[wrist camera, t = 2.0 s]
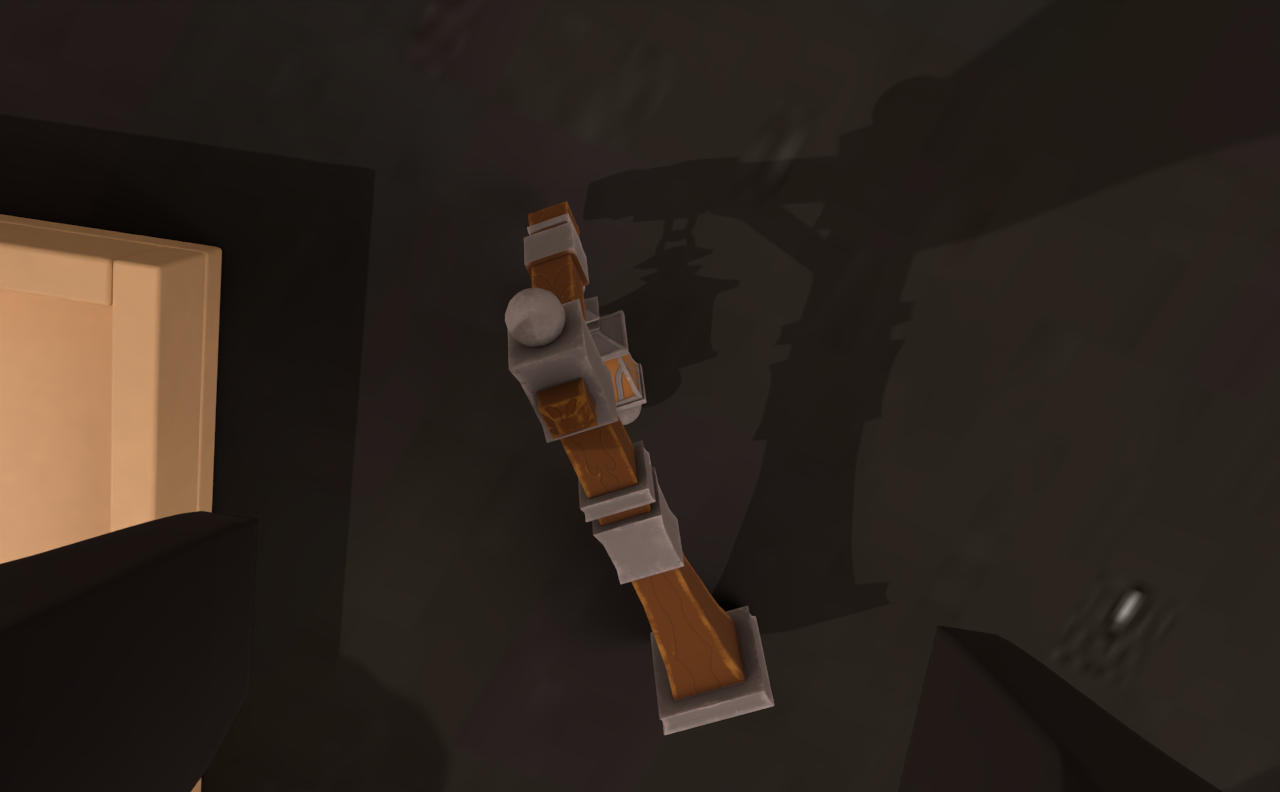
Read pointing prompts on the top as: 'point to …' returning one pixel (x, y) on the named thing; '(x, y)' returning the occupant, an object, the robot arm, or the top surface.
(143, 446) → the tray
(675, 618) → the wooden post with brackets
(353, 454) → the top surface
